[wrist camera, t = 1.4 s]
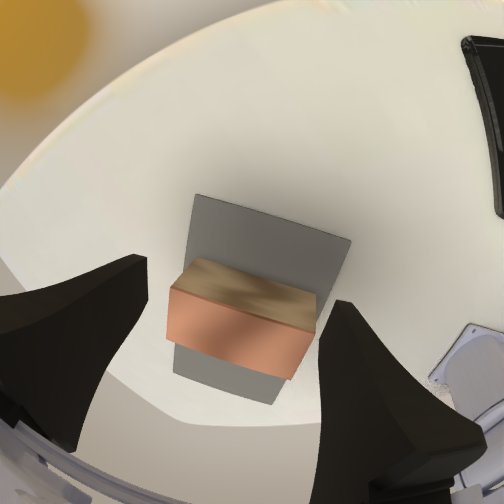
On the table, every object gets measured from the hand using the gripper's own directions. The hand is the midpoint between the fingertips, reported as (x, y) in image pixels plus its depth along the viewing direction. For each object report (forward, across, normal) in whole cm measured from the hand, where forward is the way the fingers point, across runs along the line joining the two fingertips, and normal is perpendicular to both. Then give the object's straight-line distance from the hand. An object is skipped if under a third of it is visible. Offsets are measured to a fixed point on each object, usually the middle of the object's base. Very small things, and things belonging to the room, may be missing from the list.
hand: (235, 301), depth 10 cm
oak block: (+11, 0, +8) cm, 13 cm away
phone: (+11, -19, -13) cm, 25 cm away
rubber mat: (+11, 0, +11) cm, 15 cm away
